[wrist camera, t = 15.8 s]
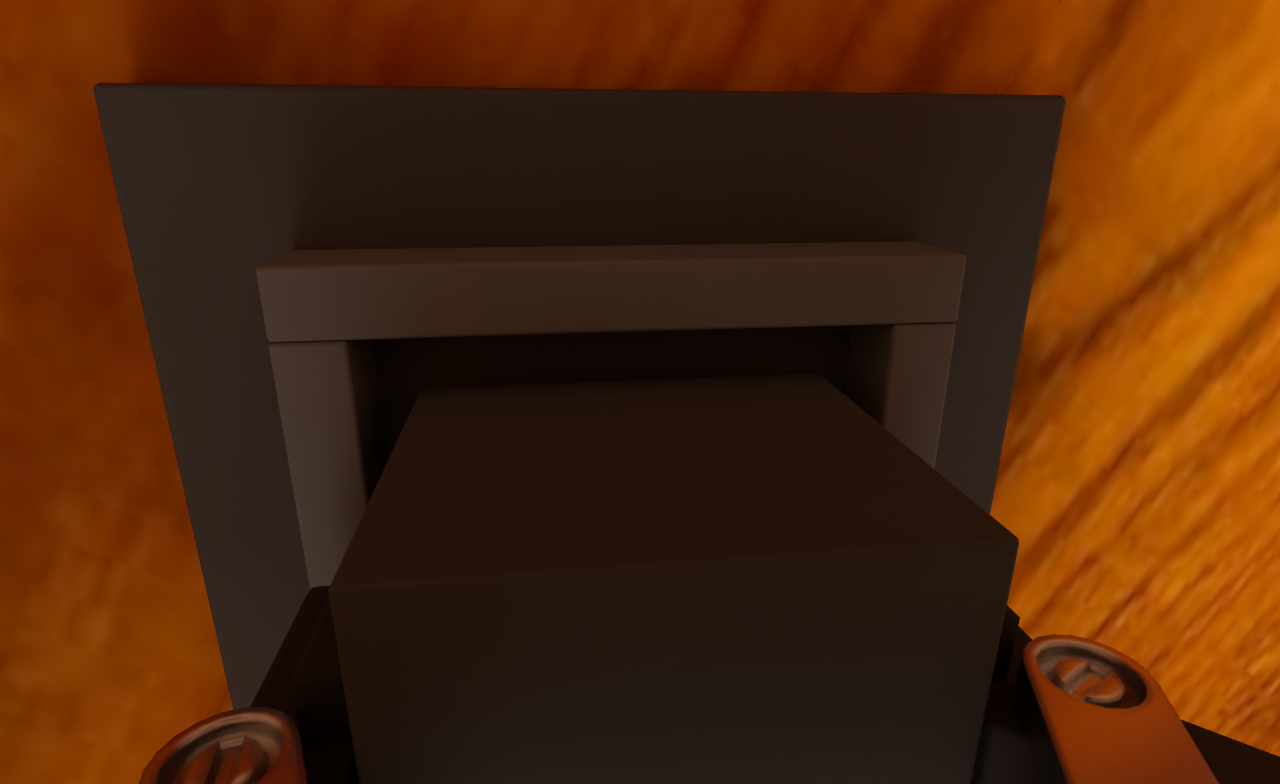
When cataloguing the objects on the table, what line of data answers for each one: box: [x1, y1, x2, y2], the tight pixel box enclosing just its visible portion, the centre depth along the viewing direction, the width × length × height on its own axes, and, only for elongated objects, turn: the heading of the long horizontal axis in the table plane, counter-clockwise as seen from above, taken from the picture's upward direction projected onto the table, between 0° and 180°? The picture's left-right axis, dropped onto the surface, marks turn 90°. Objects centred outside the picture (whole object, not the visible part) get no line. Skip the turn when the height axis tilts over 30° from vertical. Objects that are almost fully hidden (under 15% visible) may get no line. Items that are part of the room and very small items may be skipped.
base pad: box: [94, 83, 1066, 710], centre depth 12 cm, size 14×14×2 cm
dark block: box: [328, 373, 1019, 784], centre depth 9 cm, size 6×6×5 cm
